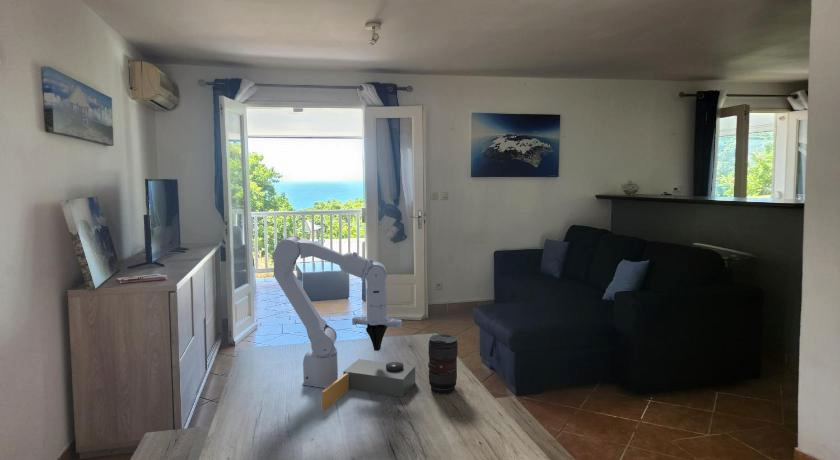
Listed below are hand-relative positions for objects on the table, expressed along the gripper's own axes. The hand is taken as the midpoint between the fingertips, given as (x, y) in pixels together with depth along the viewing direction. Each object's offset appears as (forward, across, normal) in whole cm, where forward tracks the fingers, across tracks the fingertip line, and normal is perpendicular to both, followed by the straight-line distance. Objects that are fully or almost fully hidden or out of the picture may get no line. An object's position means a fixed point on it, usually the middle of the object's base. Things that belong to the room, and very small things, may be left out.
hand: (377, 349), depth 152 cm
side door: (+9, -7, -14) cm, 19 cm away
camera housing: (+9, +2, -3) cm, 10 cm away
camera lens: (+10, +20, -2) cm, 22 cm away
